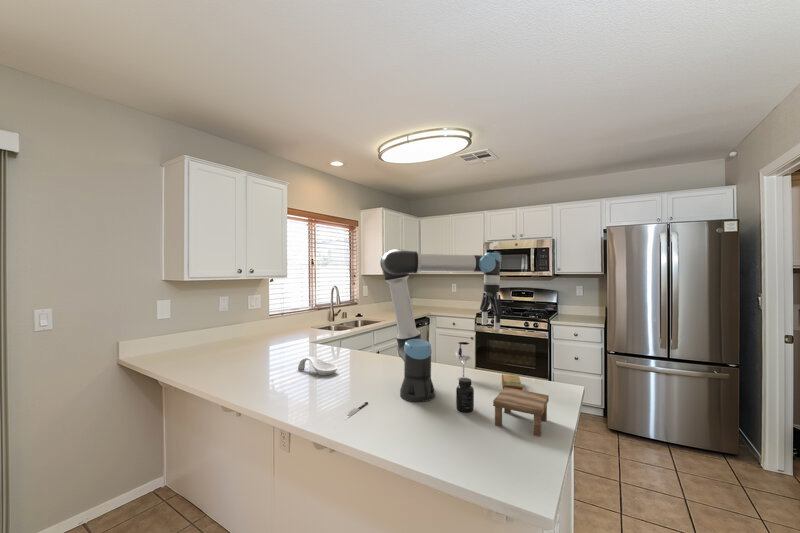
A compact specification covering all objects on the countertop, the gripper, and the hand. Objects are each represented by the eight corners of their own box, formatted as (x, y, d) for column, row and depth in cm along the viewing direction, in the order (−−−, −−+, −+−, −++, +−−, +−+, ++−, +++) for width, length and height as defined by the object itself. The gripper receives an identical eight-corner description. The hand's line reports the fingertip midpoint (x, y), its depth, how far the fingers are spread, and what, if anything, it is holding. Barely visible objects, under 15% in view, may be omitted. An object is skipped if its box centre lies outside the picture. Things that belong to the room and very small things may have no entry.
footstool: (541, 437, 114) (541, 410, 114) (493, 425, 122) (493, 400, 122) (548, 419, 128) (548, 395, 128) (504, 409, 136) (504, 387, 136)
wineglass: (471, 382, 168) (472, 345, 168) (454, 381, 169) (455, 344, 169) (471, 377, 176) (472, 342, 176) (455, 376, 177) (455, 341, 177)
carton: (519, 384, 167) (519, 375, 167) (522, 396, 152) (522, 386, 152) (501, 382, 169) (501, 373, 169) (503, 394, 154) (503, 384, 154)
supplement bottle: (454, 406, 139) (454, 376, 139) (470, 406, 139) (471, 376, 139) (458, 414, 132) (458, 382, 132) (476, 413, 132) (476, 382, 132)
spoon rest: (342, 372, 182) (342, 359, 182) (327, 379, 172) (327, 364, 172) (307, 366, 193) (307, 353, 193) (292, 372, 183) (292, 358, 183)
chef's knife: (335, 422, 125) (341, 423, 124) (334, 419, 125) (341, 420, 124) (362, 403, 143) (368, 404, 141) (362, 400, 143) (368, 401, 141)
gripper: (511, 285, 159) (510, 331, 159) (487, 282, 184) (486, 322, 184) (496, 285, 158) (495, 331, 158) (474, 282, 182) (473, 322, 182)
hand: (490, 327), depth 171 cm, fingers open, 13 cm apart
